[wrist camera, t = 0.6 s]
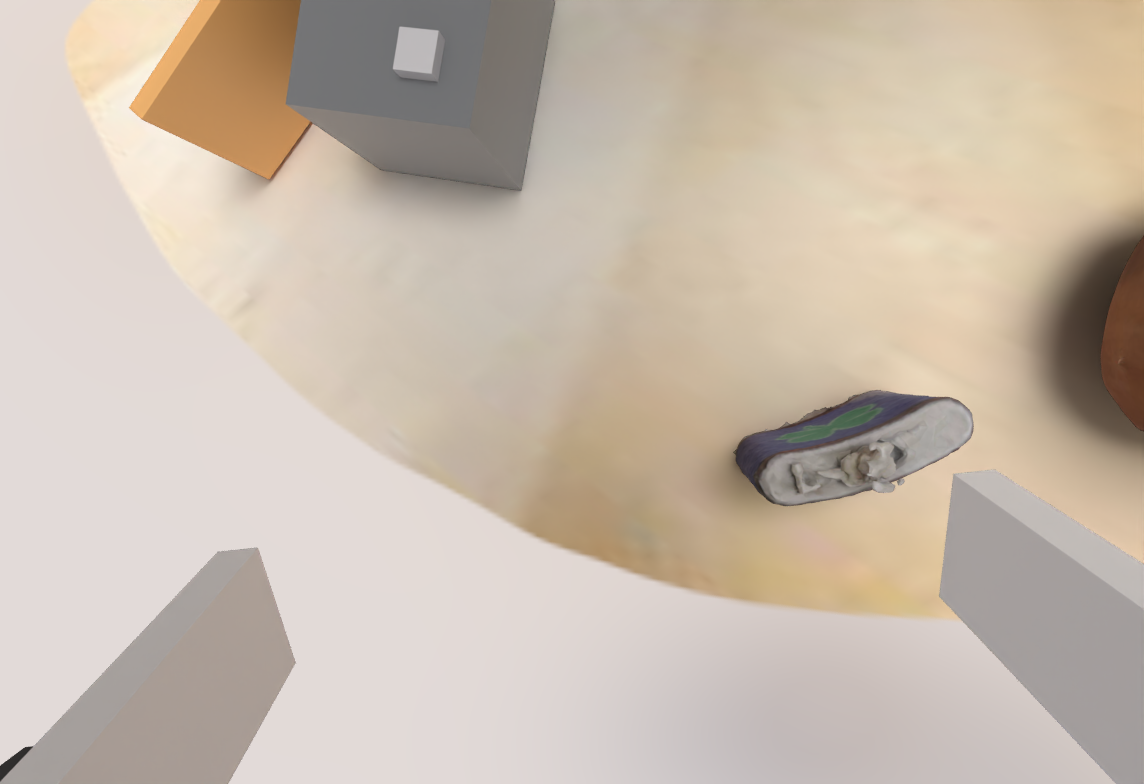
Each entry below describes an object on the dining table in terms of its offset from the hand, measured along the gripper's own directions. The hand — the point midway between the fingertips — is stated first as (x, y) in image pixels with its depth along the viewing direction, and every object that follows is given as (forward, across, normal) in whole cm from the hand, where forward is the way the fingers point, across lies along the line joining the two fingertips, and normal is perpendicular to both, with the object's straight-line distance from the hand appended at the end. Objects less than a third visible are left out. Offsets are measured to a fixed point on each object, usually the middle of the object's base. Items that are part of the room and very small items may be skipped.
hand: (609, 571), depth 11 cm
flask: (+23, +14, -9) cm, 29 cm away
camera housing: (+34, -5, +15) cm, 38 cm away
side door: (+35, -15, +16) cm, 42 cm away
